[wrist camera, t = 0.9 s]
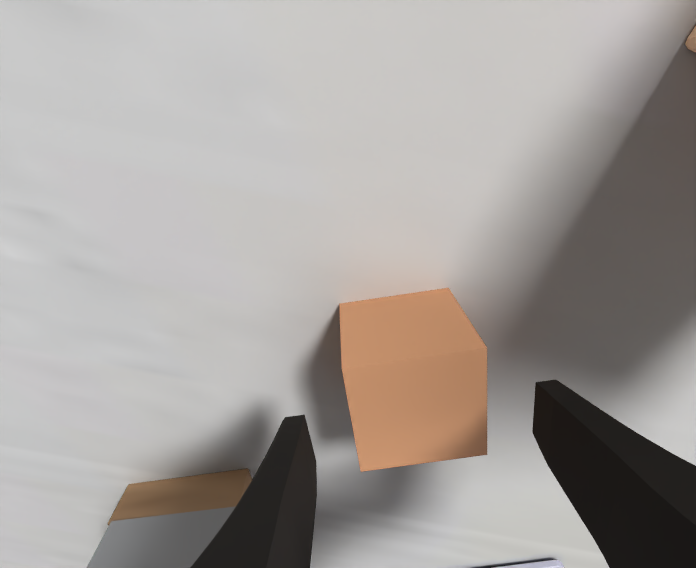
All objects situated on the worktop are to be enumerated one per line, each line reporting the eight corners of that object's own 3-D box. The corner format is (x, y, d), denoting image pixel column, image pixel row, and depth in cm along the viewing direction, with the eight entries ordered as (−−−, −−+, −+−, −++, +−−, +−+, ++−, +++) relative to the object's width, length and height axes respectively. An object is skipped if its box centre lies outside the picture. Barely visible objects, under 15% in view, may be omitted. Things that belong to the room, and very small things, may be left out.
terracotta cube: (452, 375, 18) (487, 454, 14) (354, 389, 18) (360, 471, 14) (447, 286, 16) (487, 347, 12) (339, 302, 16) (341, 368, 12)
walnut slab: (275, 539, 22) (269, 586, 20) (170, 552, 22) (153, 600, 20) (249, 461, 20) (239, 506, 18) (132, 477, 20) (107, 523, 18)
